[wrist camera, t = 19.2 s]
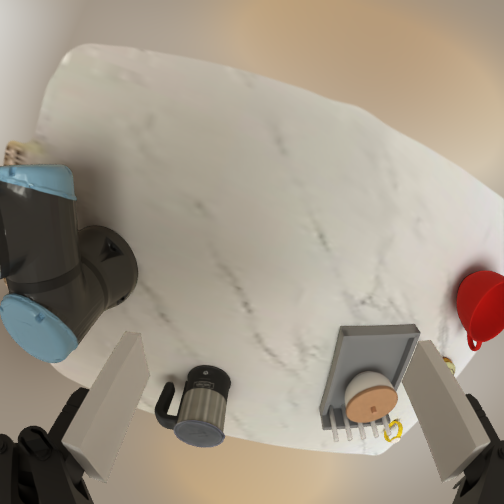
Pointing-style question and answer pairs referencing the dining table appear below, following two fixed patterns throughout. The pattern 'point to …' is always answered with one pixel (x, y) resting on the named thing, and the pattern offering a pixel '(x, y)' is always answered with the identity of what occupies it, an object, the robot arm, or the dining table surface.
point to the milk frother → (197, 407)
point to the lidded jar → (369, 397)
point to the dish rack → (365, 369)
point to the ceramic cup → (481, 306)
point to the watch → (397, 438)
